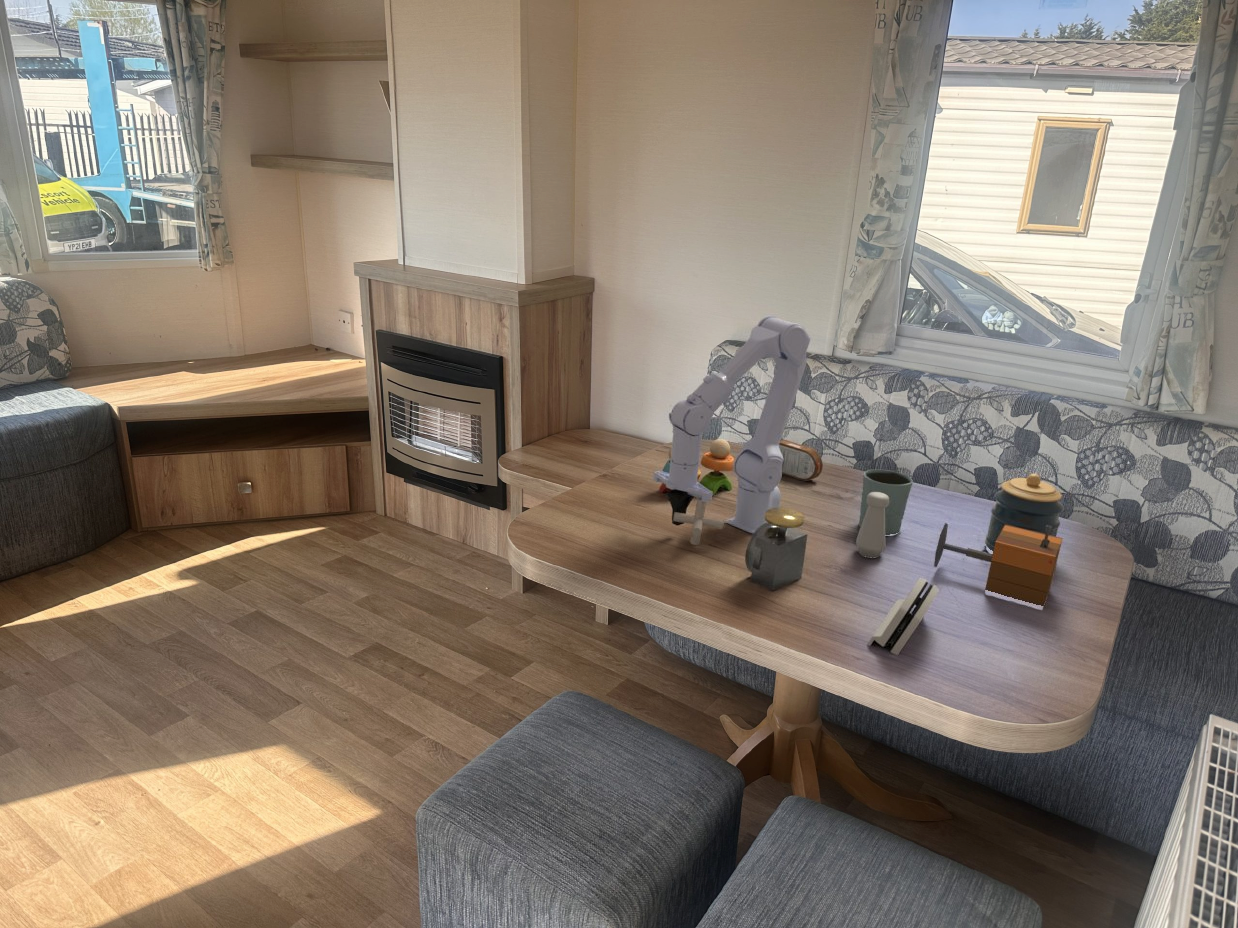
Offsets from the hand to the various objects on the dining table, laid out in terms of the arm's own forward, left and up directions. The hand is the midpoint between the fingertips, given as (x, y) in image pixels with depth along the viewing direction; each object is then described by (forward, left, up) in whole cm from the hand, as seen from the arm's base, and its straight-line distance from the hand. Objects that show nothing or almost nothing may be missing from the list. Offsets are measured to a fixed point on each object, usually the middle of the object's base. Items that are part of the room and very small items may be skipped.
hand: (678, 523), depth 180 cm
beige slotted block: (-2, +50, -3) cm, 50 cm away
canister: (-51, +48, -3) cm, 71 cm away
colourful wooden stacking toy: (-23, -18, -3) cm, 30 cm away
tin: (-51, -9, -3) cm, 52 cm away
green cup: (-39, +23, -3) cm, 46 cm away
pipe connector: (0, +5, -3) cm, 5 cm away
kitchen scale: (0, +24, -3) cm, 25 cm away
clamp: (-32, +51, -3) cm, 61 cm away
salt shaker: (-25, +29, -3) cm, 39 cm away
